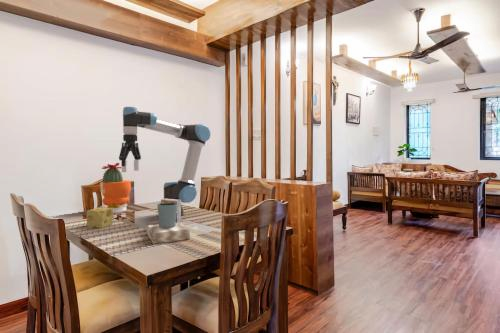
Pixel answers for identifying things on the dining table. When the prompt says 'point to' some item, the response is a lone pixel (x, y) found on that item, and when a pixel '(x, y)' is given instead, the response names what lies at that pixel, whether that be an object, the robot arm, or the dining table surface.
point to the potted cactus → (114, 189)
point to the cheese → (99, 217)
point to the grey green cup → (167, 214)
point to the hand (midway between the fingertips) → (130, 171)
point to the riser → (167, 233)
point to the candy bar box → (178, 214)
